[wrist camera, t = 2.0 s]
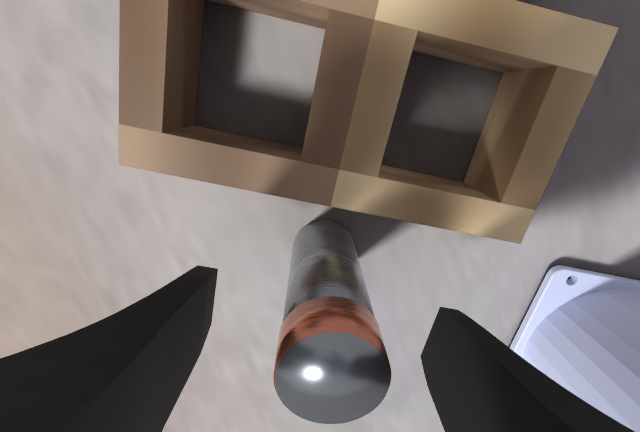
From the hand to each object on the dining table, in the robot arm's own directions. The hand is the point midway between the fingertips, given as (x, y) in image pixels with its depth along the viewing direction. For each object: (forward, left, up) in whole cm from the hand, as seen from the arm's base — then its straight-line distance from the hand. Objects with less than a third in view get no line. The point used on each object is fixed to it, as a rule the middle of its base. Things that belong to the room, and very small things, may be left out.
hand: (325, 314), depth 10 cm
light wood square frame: (-3, -6, -5) cm, 9 cm away
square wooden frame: (+4, -6, -5) cm, 9 cm away
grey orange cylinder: (0, 0, -5) cm, 5 cm away
